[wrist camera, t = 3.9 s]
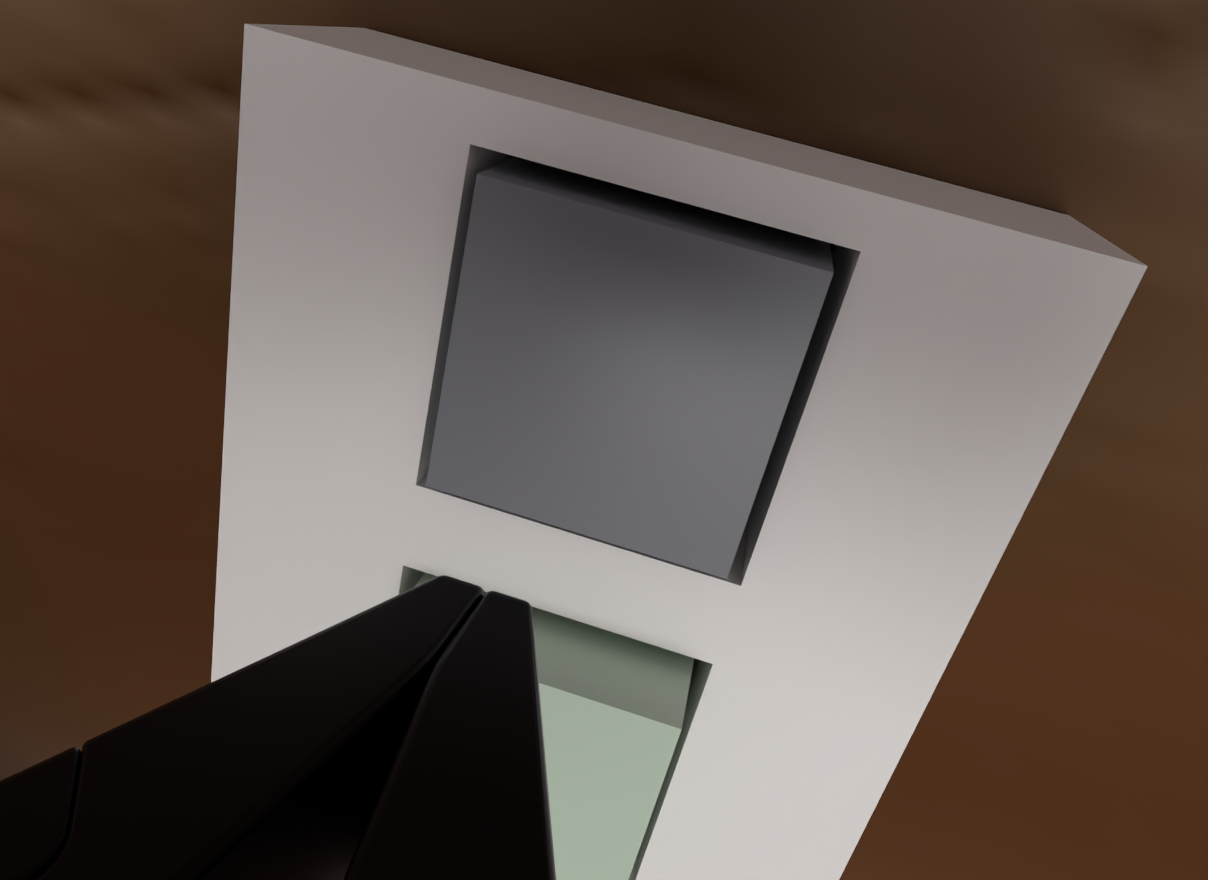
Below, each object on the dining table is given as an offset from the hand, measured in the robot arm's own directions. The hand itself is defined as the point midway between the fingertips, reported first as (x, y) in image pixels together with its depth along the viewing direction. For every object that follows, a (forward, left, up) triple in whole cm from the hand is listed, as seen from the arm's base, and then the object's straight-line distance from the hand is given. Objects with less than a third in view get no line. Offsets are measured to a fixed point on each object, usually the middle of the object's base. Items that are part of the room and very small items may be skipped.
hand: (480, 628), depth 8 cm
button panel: (-8, 0, -11) cm, 13 cm away
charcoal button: (0, 0, -10) cm, 10 cm away
